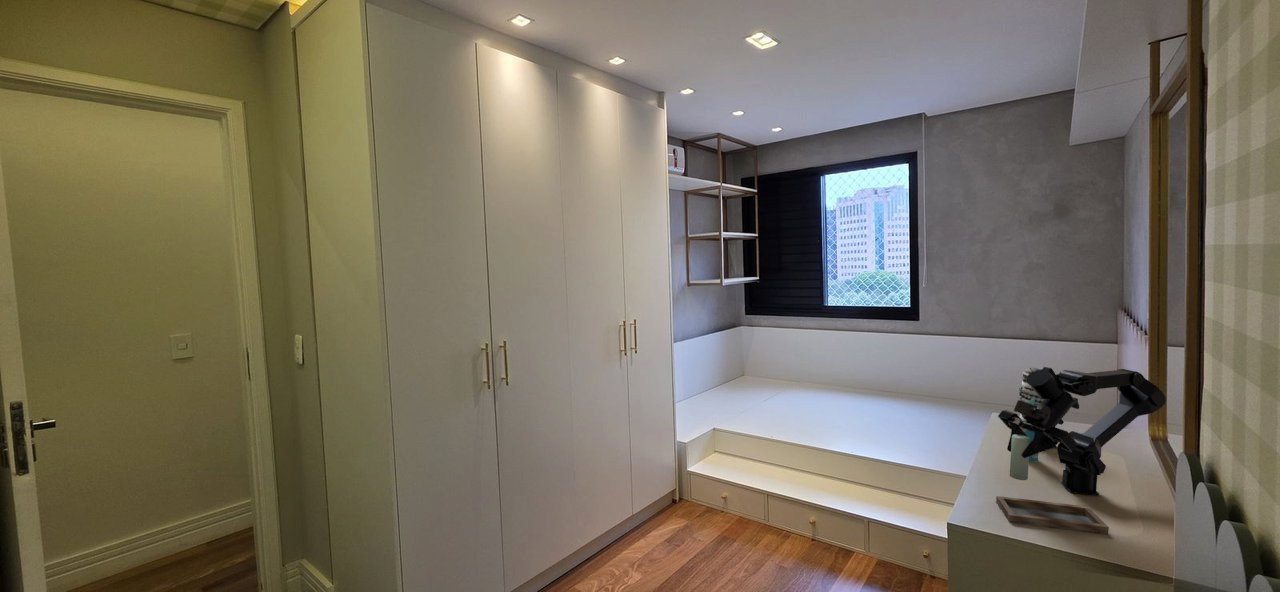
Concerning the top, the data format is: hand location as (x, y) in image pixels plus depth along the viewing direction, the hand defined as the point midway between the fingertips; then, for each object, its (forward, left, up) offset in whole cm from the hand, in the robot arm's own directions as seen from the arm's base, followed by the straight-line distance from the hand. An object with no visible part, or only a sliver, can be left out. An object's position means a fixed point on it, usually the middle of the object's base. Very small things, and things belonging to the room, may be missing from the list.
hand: (1015, 453), depth 144 cm
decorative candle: (-20, -49, -13) cm, 55 cm away
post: (-1, -1, -7) cm, 7 cm away
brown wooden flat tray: (-5, +9, -13) cm, 16 cm away
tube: (-13, -31, -13) cm, 36 cm away
